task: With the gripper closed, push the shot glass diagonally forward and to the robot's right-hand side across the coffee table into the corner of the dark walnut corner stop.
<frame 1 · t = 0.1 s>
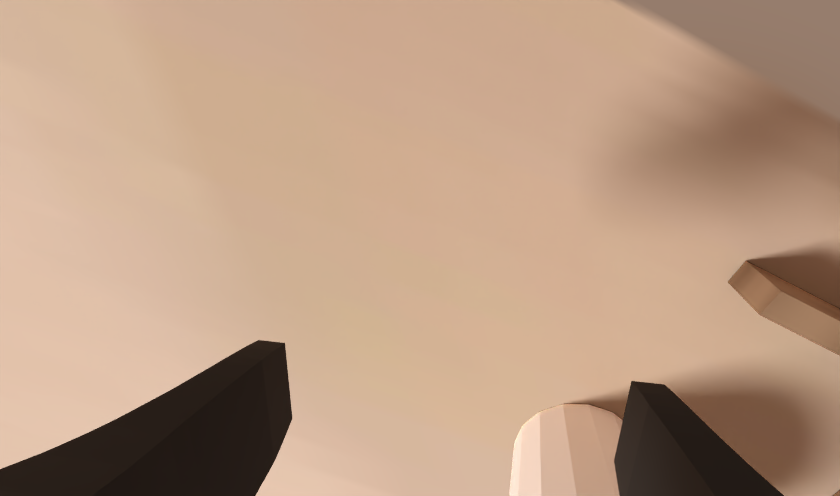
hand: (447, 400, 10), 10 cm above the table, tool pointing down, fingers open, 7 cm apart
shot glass: (575, 449, 23), on the table
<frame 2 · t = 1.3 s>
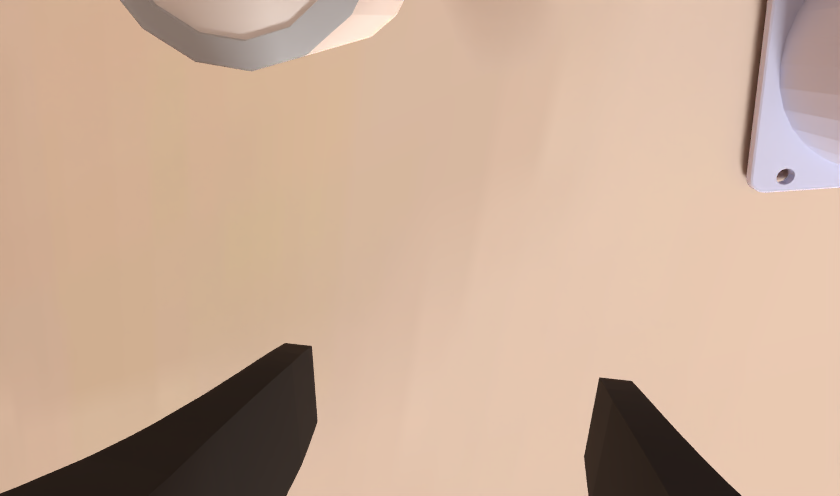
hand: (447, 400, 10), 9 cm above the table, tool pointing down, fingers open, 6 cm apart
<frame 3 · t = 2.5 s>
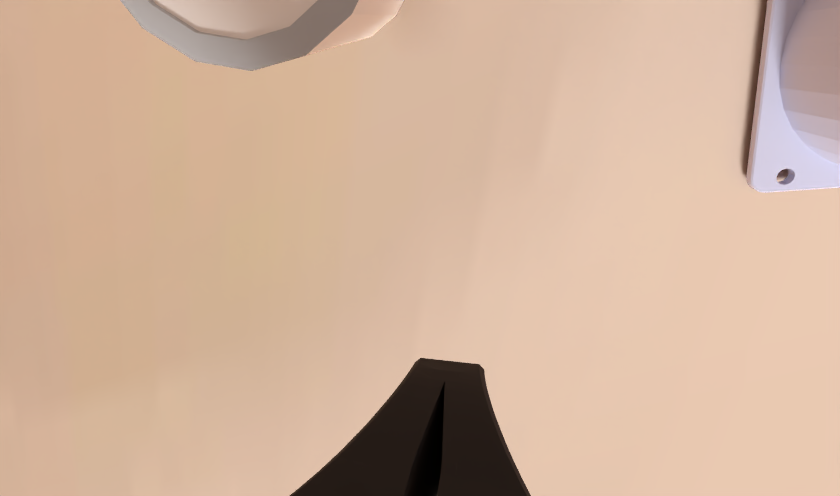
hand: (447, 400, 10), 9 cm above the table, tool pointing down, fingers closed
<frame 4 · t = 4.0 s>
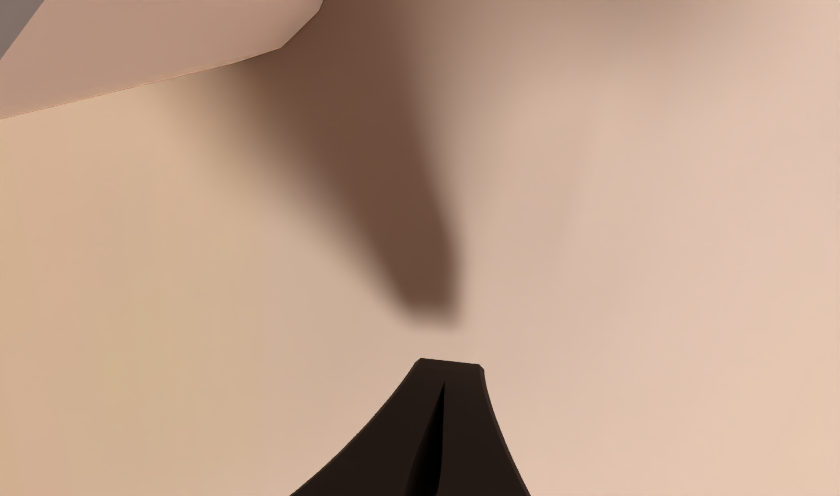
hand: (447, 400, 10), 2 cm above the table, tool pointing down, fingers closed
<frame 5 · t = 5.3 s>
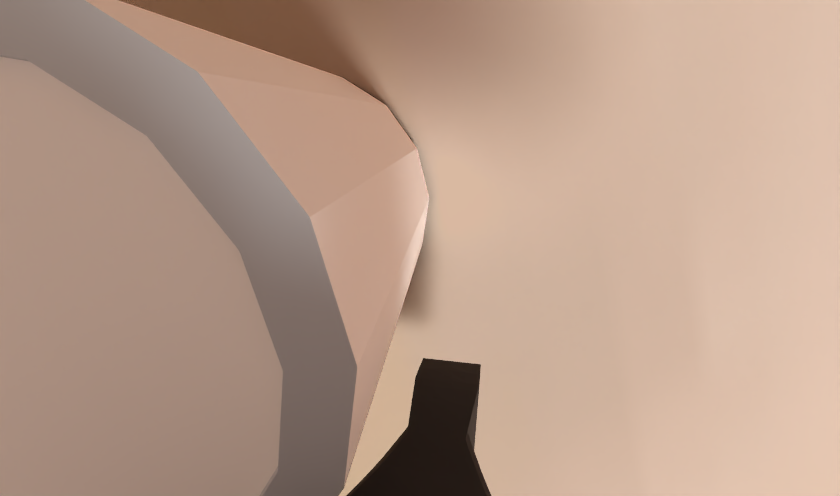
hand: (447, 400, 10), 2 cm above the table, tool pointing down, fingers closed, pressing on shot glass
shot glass: (312, 197, 11), on the table, touching gripper
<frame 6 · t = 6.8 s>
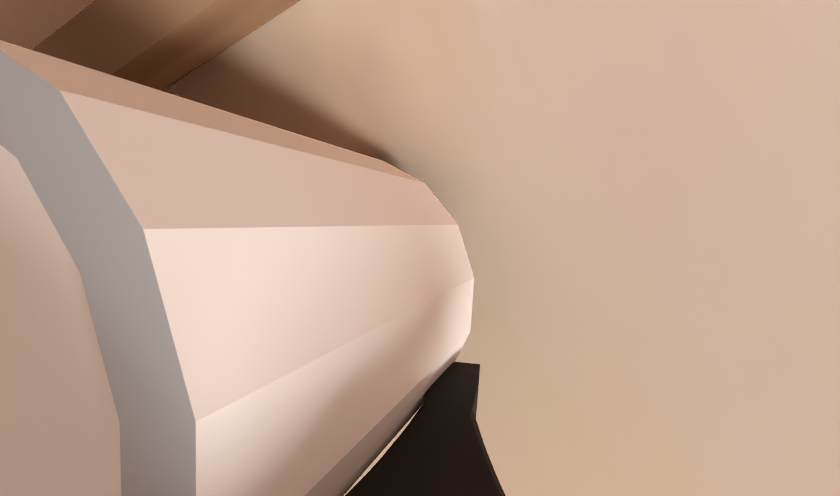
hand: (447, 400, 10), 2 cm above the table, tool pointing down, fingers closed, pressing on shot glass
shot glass: (361, 283, 11), point 1 cm above the table, touching gripper
corner stop: (31, 175, 12), on the table
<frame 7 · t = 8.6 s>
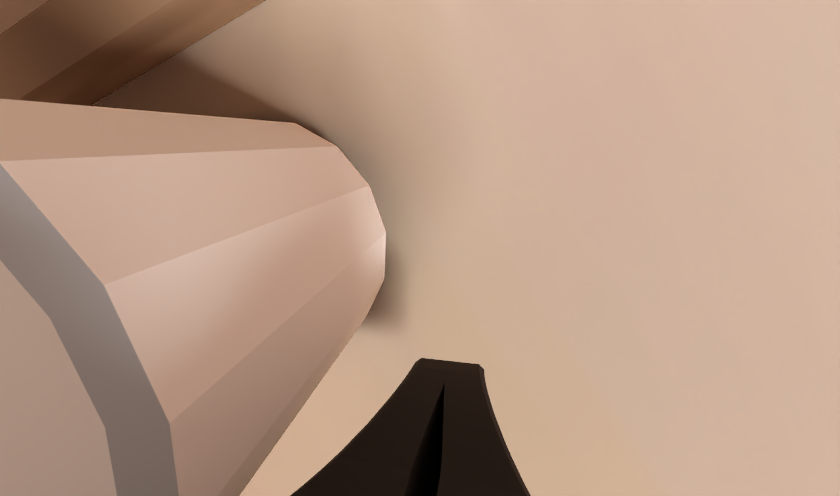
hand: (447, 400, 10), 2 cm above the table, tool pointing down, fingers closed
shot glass: (282, 237, 12), on the table
corner stop: (4, 156, 13), on the table
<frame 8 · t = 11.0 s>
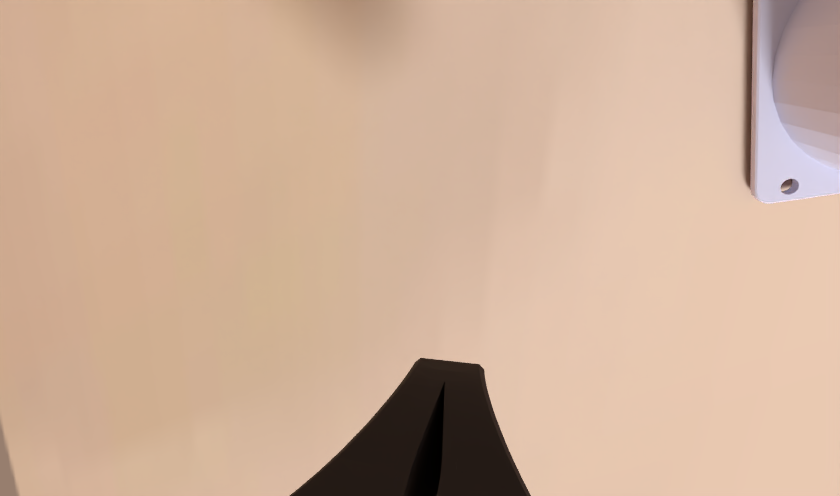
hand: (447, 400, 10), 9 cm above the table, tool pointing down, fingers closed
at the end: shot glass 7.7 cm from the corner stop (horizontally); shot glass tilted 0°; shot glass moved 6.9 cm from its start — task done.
